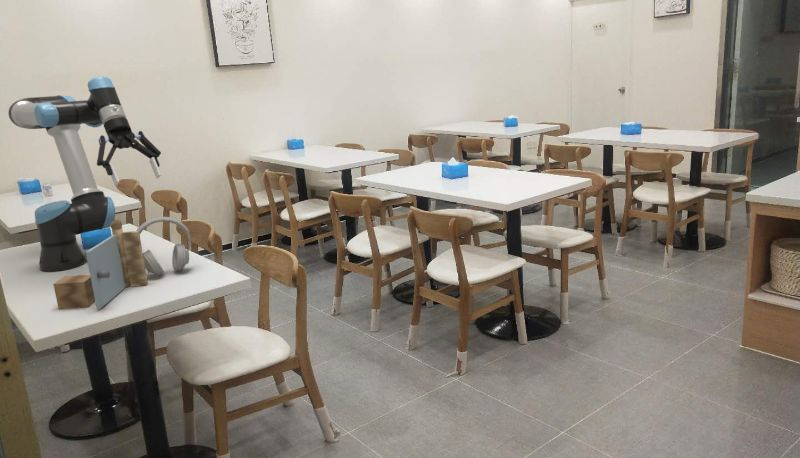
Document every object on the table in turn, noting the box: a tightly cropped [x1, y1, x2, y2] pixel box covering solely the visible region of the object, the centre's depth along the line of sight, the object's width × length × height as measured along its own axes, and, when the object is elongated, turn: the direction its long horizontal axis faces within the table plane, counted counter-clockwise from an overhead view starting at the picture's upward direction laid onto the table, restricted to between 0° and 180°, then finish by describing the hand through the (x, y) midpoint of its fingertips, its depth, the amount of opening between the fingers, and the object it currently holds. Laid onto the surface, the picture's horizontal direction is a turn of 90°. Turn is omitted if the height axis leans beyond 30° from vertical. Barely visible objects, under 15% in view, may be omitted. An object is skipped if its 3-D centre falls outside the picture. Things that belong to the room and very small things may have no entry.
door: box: [85, 234, 127, 310], centre depth 186 cm, size 4×20×18 cm, turn 3°
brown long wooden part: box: [110, 219, 149, 289], centre depth 196 cm, size 8×3×22 cm, turn 93°
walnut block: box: [53, 274, 96, 310], centre depth 184 cm, size 9×7×8 cm
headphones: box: [135, 216, 192, 277], centre depth 207 cm, size 19×9×20 cm, turn 120°
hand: (138, 180), depth 197 cm, fingers open, 13 cm apart
